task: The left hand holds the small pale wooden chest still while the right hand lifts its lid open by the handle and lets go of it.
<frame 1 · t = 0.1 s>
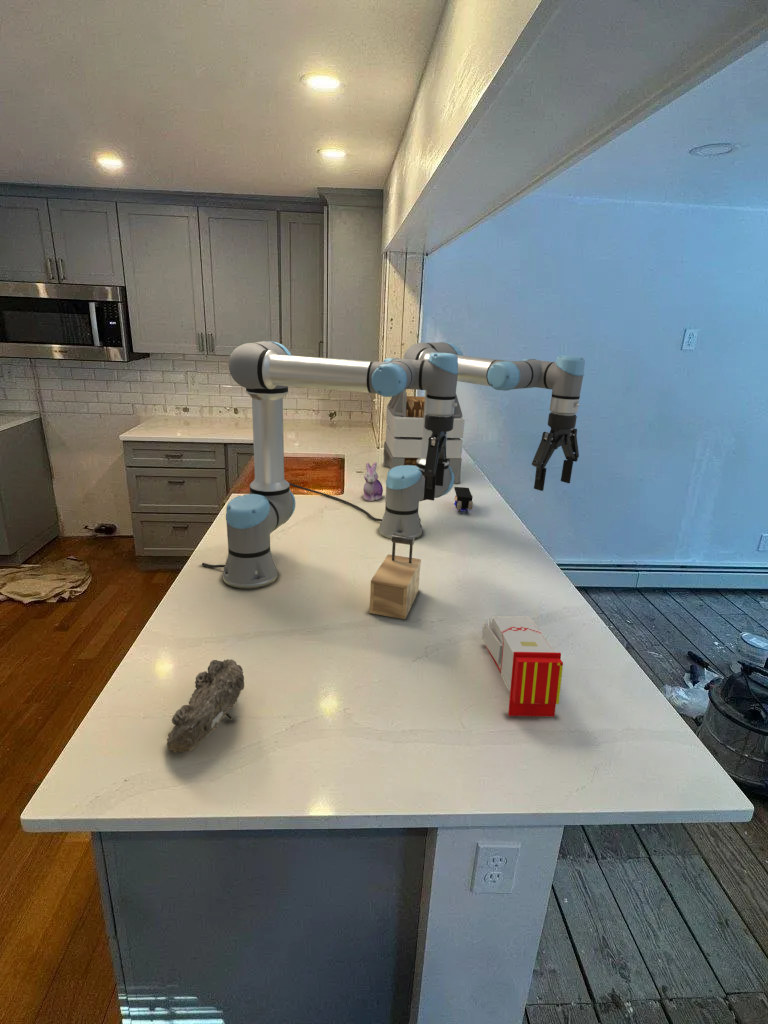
left hand: (433, 492, 155), 28 cm above the counter, tool pointing down, fingers open, 13 cm apart
right hand: (552, 485, 166), 28 cm above the counter, tool pointing down, fingers open, 13 cm apart
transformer: (419, 473, 275), on the counter
toy: (514, 675, 125), on the counter
lid: (397, 557, 150), point 13 cm above the counter, hinge at 0.0°
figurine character: (462, 509, 227), on the counter
chest: (394, 601, 154), on the counter
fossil: (212, 717, 108), on the counter
figurine: (372, 498, 236), on the counter
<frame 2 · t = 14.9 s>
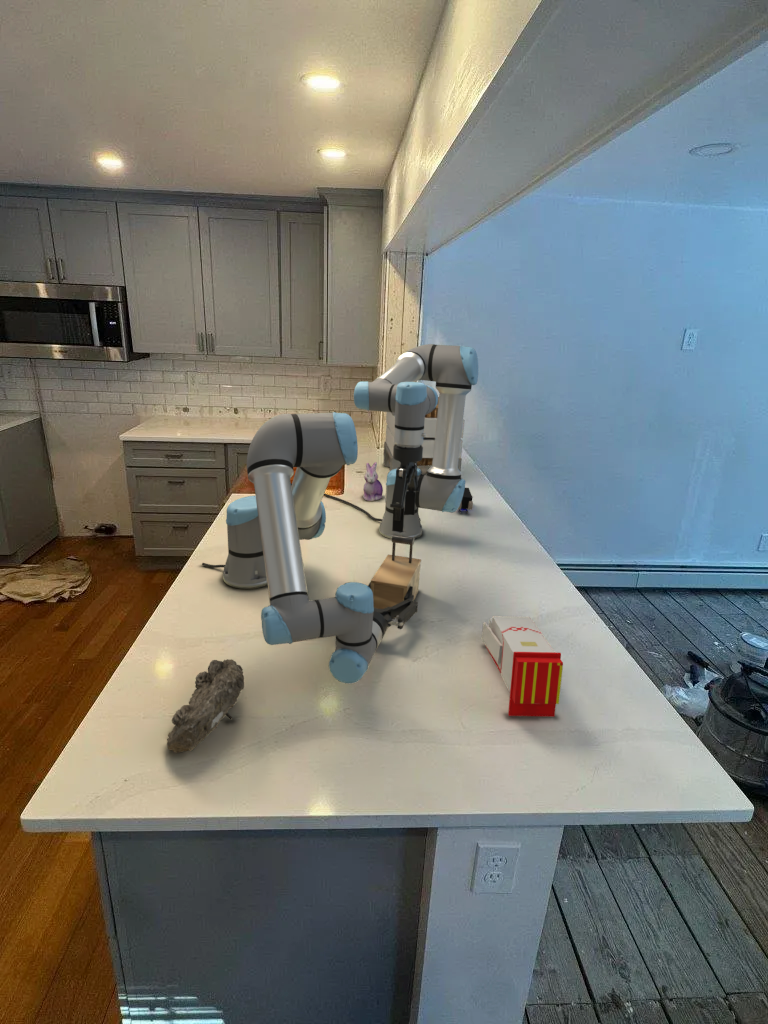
left hand: (391, 587, 147), 6 cm above the counter, tool horizontal, fingers closed on chest, 9 cm apart
right hand: (403, 522, 152), 21 cm above the counter, tool pointing down, fingers open, 13 cm apart
chest: (394, 601, 154), on the counter, touching left hand
everything else where it was.
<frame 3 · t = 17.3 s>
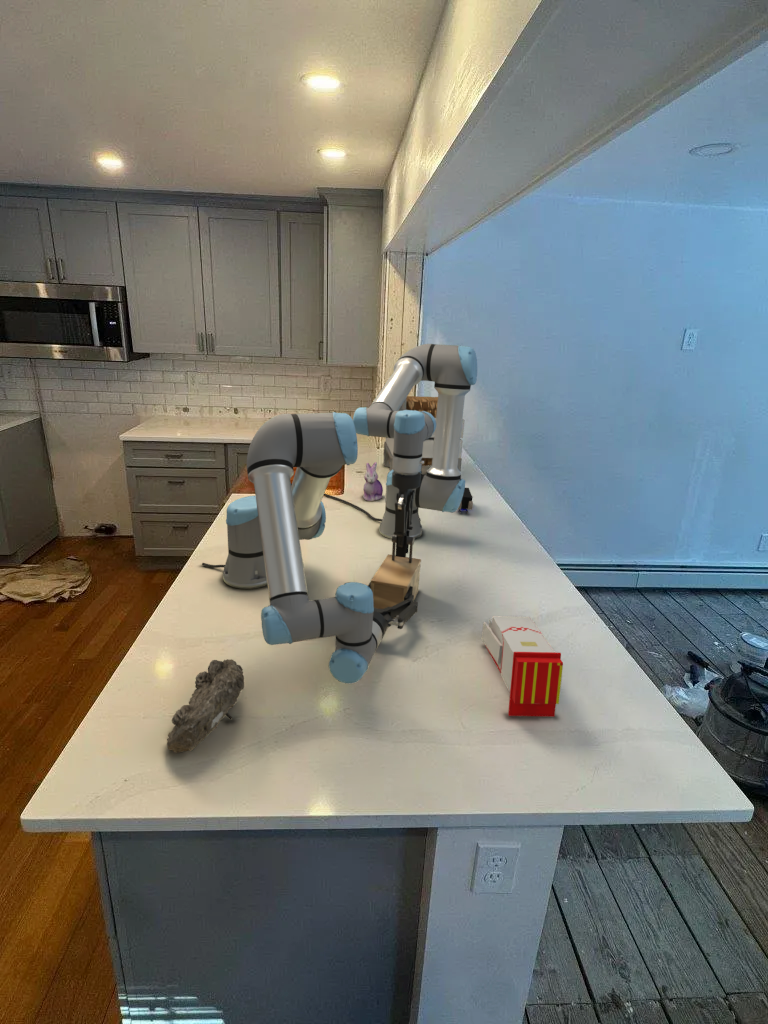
left hand: (391, 587, 147), 7 cm above the counter, tool horizontal, fingers closed on chest, 9 cm apart
right hand: (401, 554, 155), 12 cm above the counter, tool pointing down, fingers closed on lid, 2 cm apart
lid: (397, 557, 150), point 13 cm above the counter, hinge at 0.1°, touching right hand
chest: (395, 601, 154), on the counter, touching left hand
everything else where it was.
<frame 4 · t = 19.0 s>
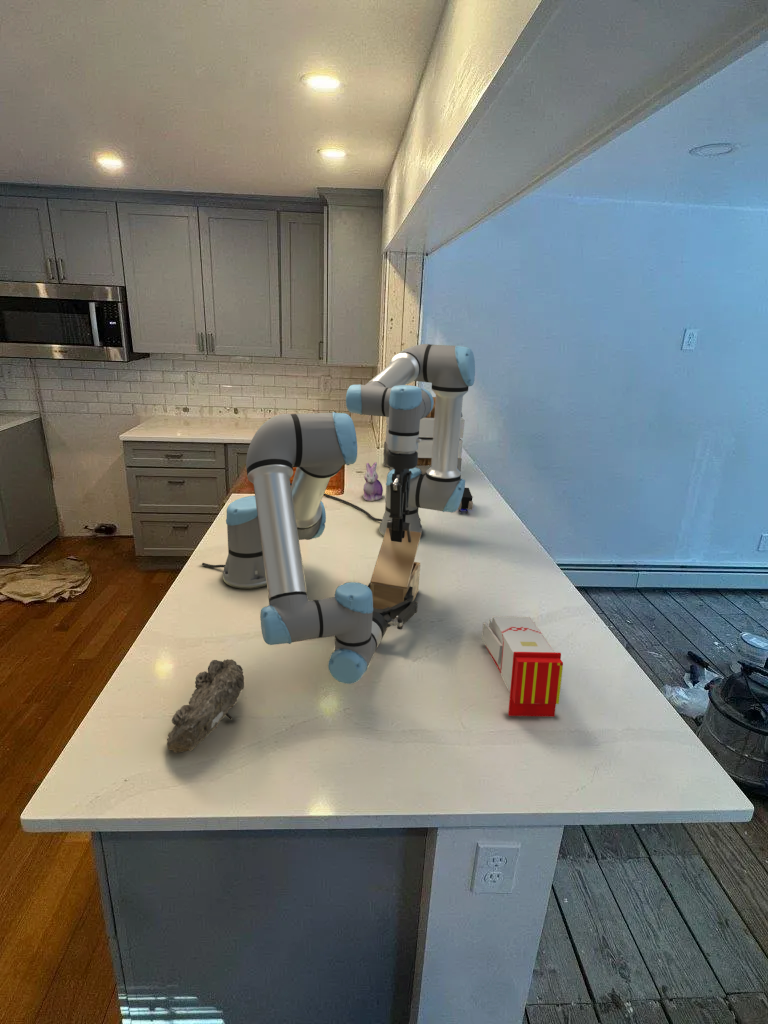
left hand: (391, 588, 147), 6 cm above the counter, tool horizontal, fingers closed on chest, 10 cm apart
right hand: (397, 538, 147), 19 cm above the counter, tool pointing down, fingers closed on lid, 2 cm apart
lid: (395, 548, 145), point 17 cm above the counter, hinge at 31.8°, touching right hand
chest: (394, 601, 153), on the counter, touching left hand
everything else where it was.
when the left hand's fingers open (7 cm above the counter, at t = 25.0 s): chest stays where it is, on the counter.
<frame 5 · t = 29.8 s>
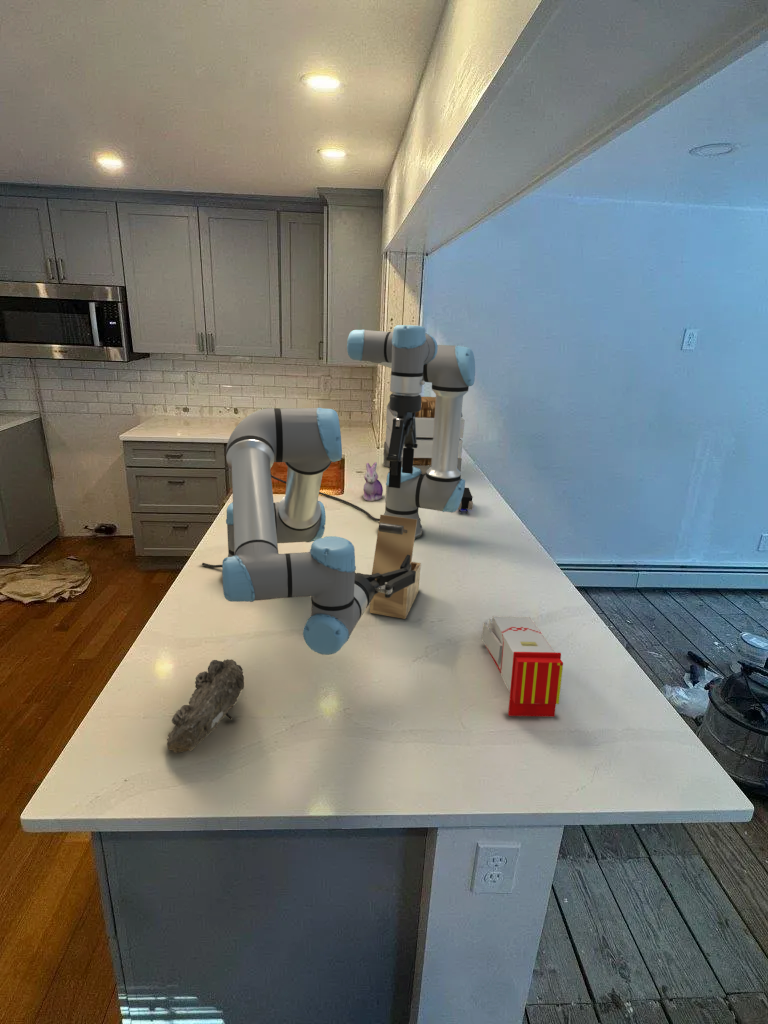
left hand: (379, 555, 129), 22 cm above the counter, tool horizontal, fingers open, 13 cm apart
right hand: (401, 479, 141), 35 cm above the counter, tool pointing down, fingers open, 13 cm apart
lid: (390, 550, 140), point 19 cm above the counter, hinge at 66.5°
chest: (395, 601, 154), on the counter
everything else where it was.
at the end: lid at +66° (first picture: +0°); the left hand is holding nothing; the right hand is holding nothing; chest tilted 0°; chest never tilted more than 2° during the clip; chest moved 0.2 cm from its start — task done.
